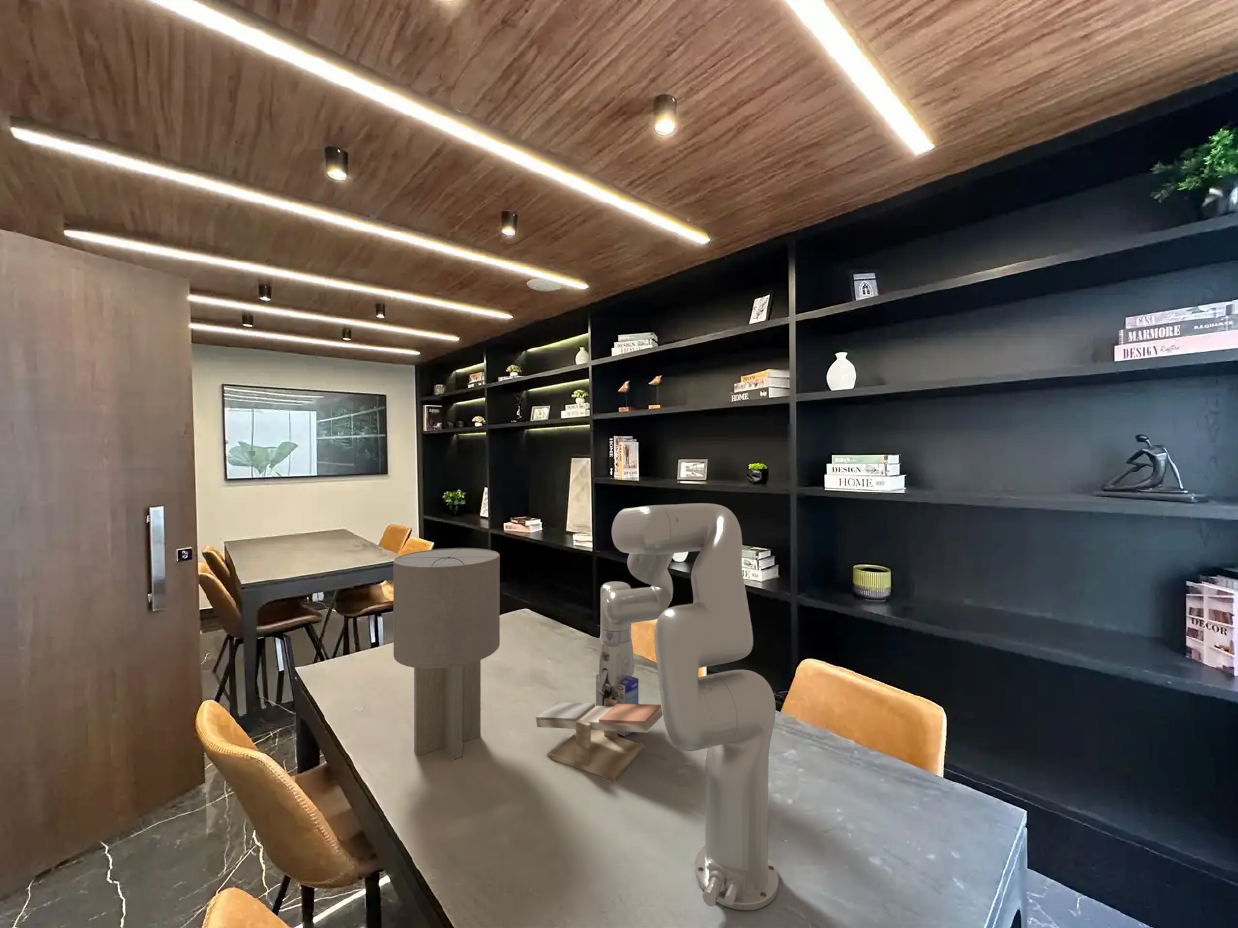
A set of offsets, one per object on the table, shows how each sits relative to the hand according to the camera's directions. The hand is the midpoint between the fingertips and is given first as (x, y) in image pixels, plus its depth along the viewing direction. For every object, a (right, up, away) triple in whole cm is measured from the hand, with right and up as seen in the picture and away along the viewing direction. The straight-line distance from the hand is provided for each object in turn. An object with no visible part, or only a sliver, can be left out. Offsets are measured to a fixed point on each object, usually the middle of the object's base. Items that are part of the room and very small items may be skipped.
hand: (615, 706), depth 124 cm
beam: (-4, +3, -12) cm, 13 cm away
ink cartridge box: (+1, -5, 0) cm, 5 cm away
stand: (-4, -5, -12) cm, 13 cm away
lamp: (-38, -5, -8) cm, 39 cm away
